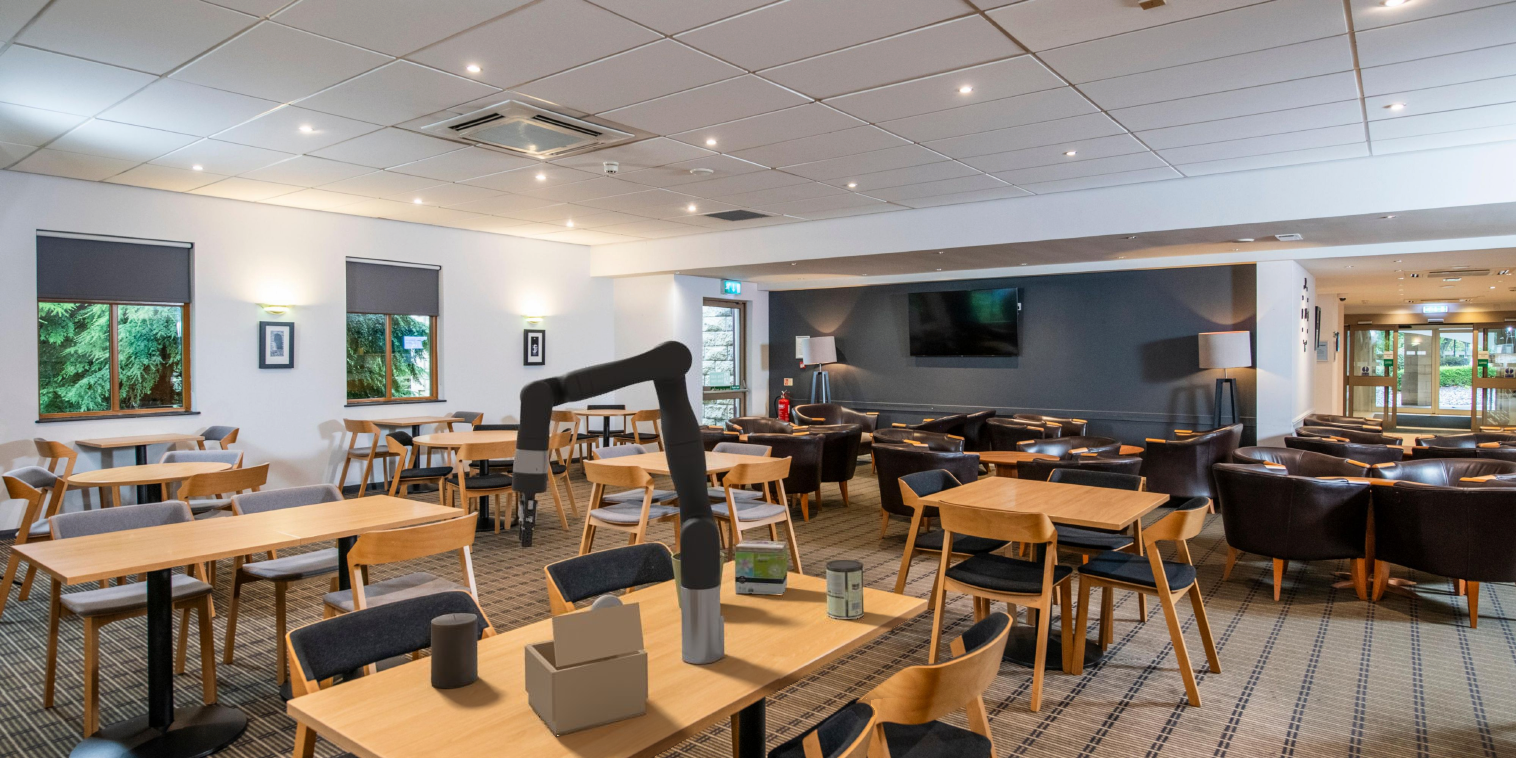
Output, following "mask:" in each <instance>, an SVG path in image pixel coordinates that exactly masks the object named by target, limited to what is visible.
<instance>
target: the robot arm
mask: <svg viewBox="0 0 1516 758" xmlns="http://www.w3.org/2000/svg"><path fill="white" fill-rule="evenodd" d="M692 365H693V355H692V352H691V350H690V348H689V347H688V346H687V345H686V344H684V343H683V342H680V341H677V340H666V341H663V342H661V343H659V344H657V345H655V346H654V347H653V348H651V349H649V350H647V351H645V352H643V353H640V354H637V355H633V356H631V357H626V358H623V359H618V360H614V361H608V362H604V363H599V364H594V365H591V366H585V367H581V368H578V369H575V370H572V371H567V372H566V373H563V374H560V375H556V376H552V377H547V378H543V379H542V378H541V379H537V380H532V381H529V382H527V383H526V384H524V385H523V387H522V388H521V390H520V393H519V400H520V407H519V408H520V410H519V411H520V413H519V426H518V429H517V432H516V443H515V445H516V446H515V448H516V449H515V454H514V458H513V468H512V477H511V478H512V479H511V481H512V482H511V491H513V492H515V493H520V494H519V495H520V496H519V497H520V498H519V499H518V503H517V504H518V505H517V506H518V509H517V510H518V511H517V515H518V516H517V517H518V522H519V529H518V530H519V531H518V540H519V542H520V546H521V547H522V548H531V547H532V546H533V535H534V533H533V532H534V530H535V527H536V520H537V517H538V516H537V515H538V512H537V511H538V508H539V501H538V500H537V499H536V494H542V493H543V494H544V493H546V492H547V487H548V475H549V467H550V466H549V465H550V458H549V457H550V456H549V449H550V436H551V435H550V433H551V432H550V431H551V429H550V427H551V421H552V416H553V415H552V414H553V410H554V409H553V408H555V407H558V406H561V405H564V404H567V403H575V402H581V401H584V400H588V399H592V398H596V397H598V396H602V395H606V394H608V393H611V392H615V391H617V390H620V389H624V388H626V387H629V386H634V385H636V384H641V383H645V382H651V381H653V385H654V389H655V392H656V397H657V401H658V407H659V417H660V424H661V425H660V426H661V433H662V440H663V446H664V452H665V458H666V462H667V466H668V471H669V474H670V477H671V480H672V483H673V484H672V485H673V486H674V489H675V492H676V495H677V499H678V500H677V501H678V505H679V506H678V508H679V519H680V520H679V521H680V532H679V533H680V535H679V552H680V573H681V609H680V610H681V612H680V613H681V614H680V615H681V616H680V617H681V619H680V620H681V659H682V660H683V661H684V662H686V663H687V664H688V663H689V664H694V665H702V664H703V665H704V664H705V665H706V664H710V663H715V662H717V661H719V660H720V659H722V658H725V657H726V656H725V617H724V616H723V615H721V589H720V552H721V539H720V532H719V527H718V524H717V522H716V518H715V516H714V515H715V514H714V513H713V509H712V506H711V502H710V497H709V489H708V472H707V471H708V470H707V457H706V452H705V444H704V440H703V435H702V430H701V428H700V424H699V421H698V419H697V417H696V414H695V412H694V410H693V407H692V405H691V402H690V399H689V395H688V387H687V378H686V374H688V372H689V371H690V370H691V367H692Z"/></svg>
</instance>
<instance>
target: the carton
mask: <svg viewBox="0 0 1516 758" xmlns="http://www.w3.org/2000/svg"><path fill="white" fill-rule="evenodd" d="M648 655H649V653H648V652H647V651H646V650H645V649H642V650H638V651H633V652H628V653H623V654H618V655H613V656H609V657H604V658H599V659H594V660H589V661H584V662H579V663H575V664H570V665H565V666H560V667H556V659H555V648H554V638H553V639H548V640H541V641H538V642H533V643H528V644H526V645H524V684H525V685H524V689H525V691H526V693H527V694H528V695H527V696H528V697H527V699H528V700H527V701H528V702H527V703H528V705H529V707H531V709H532V708H533V709H532V710H533V711H534V712H535V714H536V713H537V714H538V715H539V716H540V717H539V716H538V715H537V714H536V715H537V716H538V717H539V719H542V720H543V721H544V722H545V723H544V722H543V721H542V720H541V721H542V722H543V723H544V724H545V726H546V725H547V726H548V727H547V726H546V727H547V728H548V729H549V730H550V732H551V731H552V732H553V733H554V734H553V733H552V732H551V733H552V734H553V735H554V736H555V737H556V736H557V735H561V736H564V735H563V734H565V735H568V734H567V733H569V734H572V733H571V732H573V733H576V732H577V733H578V732H580V730H581V731H585V730H588V729H593V728H595V727H596V728H597V727H601V726H604V725H609V724H613V723H616V722H620V721H623V720H627V719H633V718H636V717H639V716H643V715H646V699H647V700H648V699H649V673H648V671H649V669H648V666H649V663H648V662H649V661H648ZM557 737H558V736H557Z"/></svg>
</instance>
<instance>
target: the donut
mask: <svg viewBox="0 0 1516 758" xmlns="http://www.w3.org/2000/svg"><path fill="white" fill-rule="evenodd" d="M619 605H624V603H623V601H622V600H621V599H620V598H619V597H618V596H616V595H614V594H605V595H604V594H603V595H602V596H600V597H598V598H596V600H594V602H593V603H592V604H591V606H590V609H589V611H590V610H596V609H602V608H607V607H613V606H619Z"/></svg>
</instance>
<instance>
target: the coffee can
mask: <svg viewBox="0 0 1516 758" xmlns="http://www.w3.org/2000/svg"><path fill="white" fill-rule="evenodd" d="M825 567H826V573H825V574H826V605H827V607H826V610H827V611H826V615H827V616H828V617H829V616H830V617H829V618H831V617H832V618H831V619H834V618H837V619H836V620H840V619H853V620H857V618H858V619H861V618H863V617H864V616H863V615H865V613H864V611H865V609H864V576H863V575H864V571H863V568H864V563H863V562H861V561H858V560H854V559H853V560H852V559H836V560H830V561H828V562H826V563H825ZM862 616H863V617H862ZM860 617H861V618H860Z"/></svg>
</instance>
